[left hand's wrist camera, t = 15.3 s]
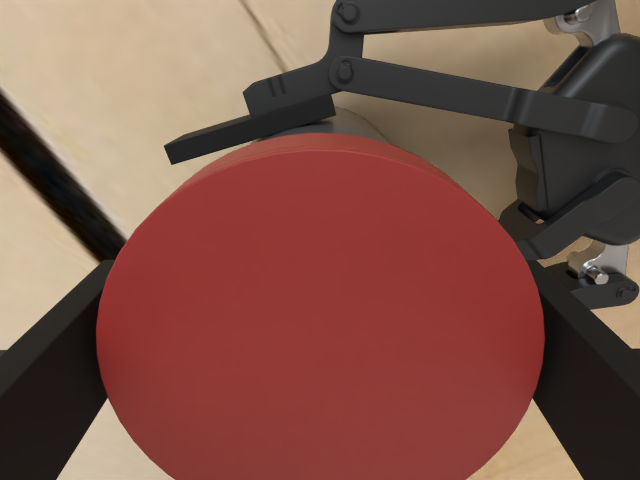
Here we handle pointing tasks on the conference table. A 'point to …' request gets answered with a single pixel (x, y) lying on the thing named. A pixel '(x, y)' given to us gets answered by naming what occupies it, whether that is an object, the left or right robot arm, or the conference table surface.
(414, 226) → the lid
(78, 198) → the conference table surface
